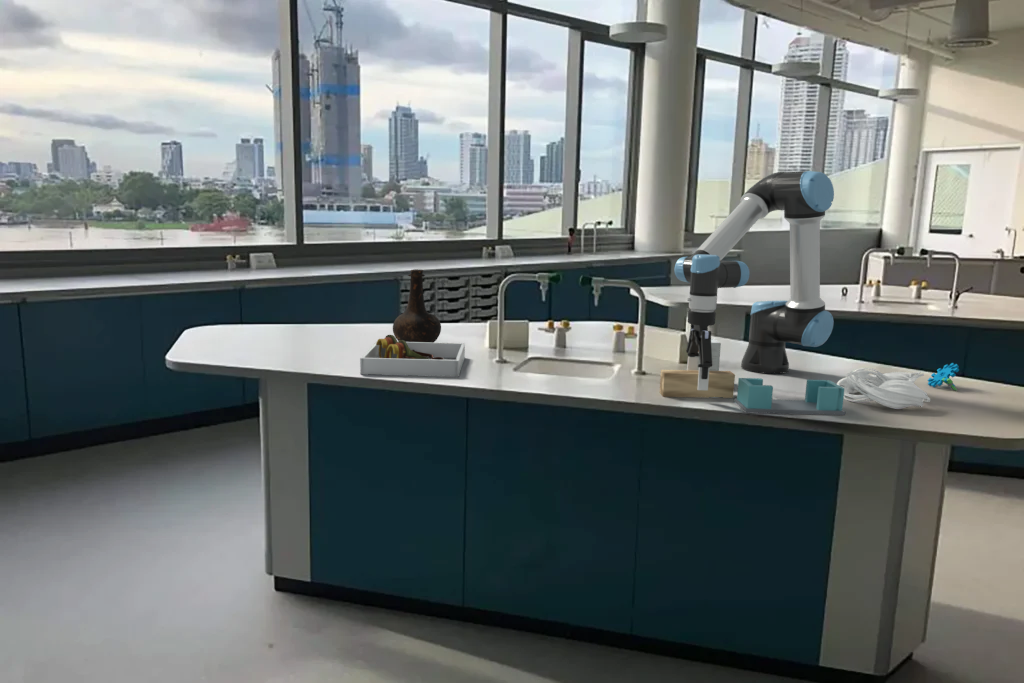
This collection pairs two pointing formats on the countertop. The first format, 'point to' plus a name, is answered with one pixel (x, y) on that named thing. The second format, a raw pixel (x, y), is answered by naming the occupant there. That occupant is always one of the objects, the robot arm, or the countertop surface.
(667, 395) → the slat
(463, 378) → the countertop surface
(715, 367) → the small box
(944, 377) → the blue toy flower
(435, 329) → the glass bottle
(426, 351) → the tray
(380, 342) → the multicoloured curved piece
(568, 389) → the countertop surface
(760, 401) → the rail
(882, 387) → the coil
